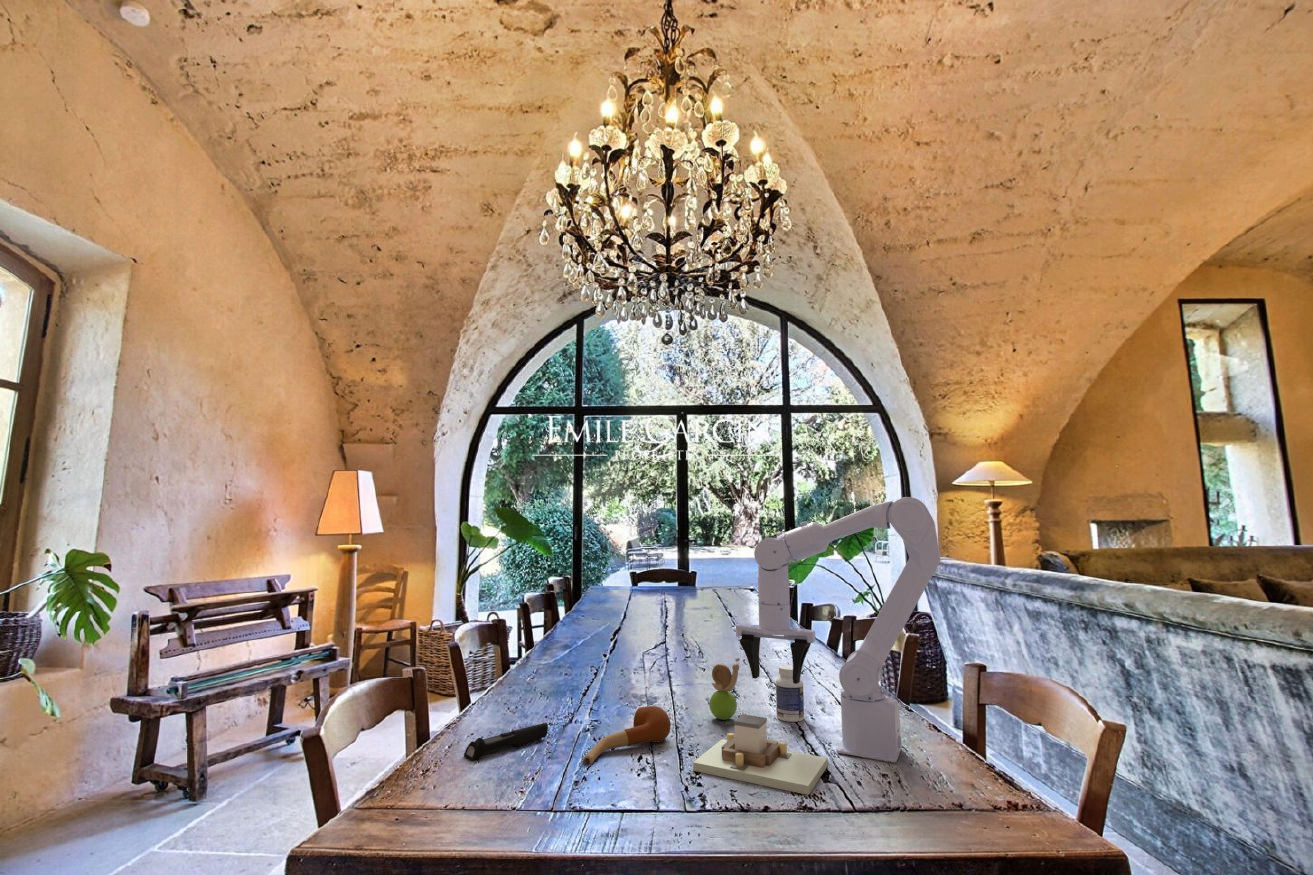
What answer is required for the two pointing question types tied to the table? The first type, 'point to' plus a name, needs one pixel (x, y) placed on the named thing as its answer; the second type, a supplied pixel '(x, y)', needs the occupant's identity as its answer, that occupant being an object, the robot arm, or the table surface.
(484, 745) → the electric trimmer
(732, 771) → the board
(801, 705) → the pill bottle
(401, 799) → the table surface
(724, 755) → the socket collar
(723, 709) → the snail figurine
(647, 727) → the smoking pipe
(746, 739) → the plug block
